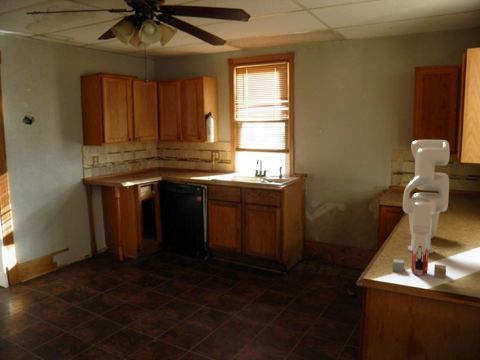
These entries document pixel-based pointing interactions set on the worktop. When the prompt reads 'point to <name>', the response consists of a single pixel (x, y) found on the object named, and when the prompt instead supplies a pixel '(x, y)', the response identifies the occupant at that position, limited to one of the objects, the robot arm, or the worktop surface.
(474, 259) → the worktop surface
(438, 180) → the robot arm
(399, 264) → the slate grey block
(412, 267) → the soda can
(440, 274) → the walnut block
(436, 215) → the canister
